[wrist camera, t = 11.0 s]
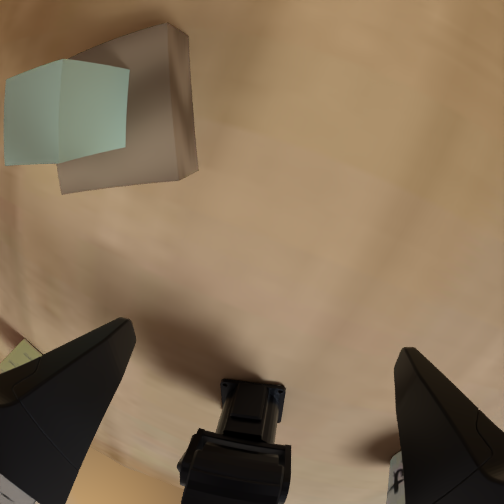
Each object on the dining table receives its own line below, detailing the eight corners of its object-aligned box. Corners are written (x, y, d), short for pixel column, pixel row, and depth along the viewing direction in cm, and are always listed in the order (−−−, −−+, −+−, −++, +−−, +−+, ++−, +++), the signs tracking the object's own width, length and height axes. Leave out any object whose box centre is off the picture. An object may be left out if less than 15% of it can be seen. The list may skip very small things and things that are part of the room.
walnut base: (200, 169, 21) (179, 180, 17) (92, 182, 22) (61, 194, 19) (190, 37, 17) (167, 22, 13) (81, 70, 18) (49, 68, 15)
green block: (125, 147, 17) (59, 163, 11) (69, 148, 17) (5, 165, 12) (129, 69, 14) (63, 58, 9) (71, 79, 15) (6, 79, 10)
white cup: (432, 429, 29) (444, 491, 20) (461, 451, 31) (471, 499, 22) (368, 459, 33) (370, 518, 24) (409, 477, 35) (413, 523, 26)
